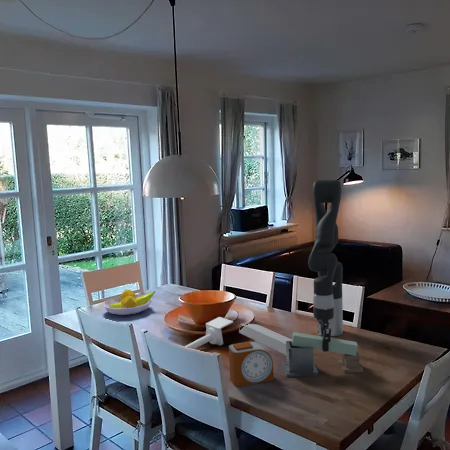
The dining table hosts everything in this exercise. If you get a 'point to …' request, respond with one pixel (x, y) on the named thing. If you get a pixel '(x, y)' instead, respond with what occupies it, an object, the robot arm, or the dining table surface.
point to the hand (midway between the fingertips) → (324, 348)
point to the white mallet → (212, 333)
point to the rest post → (350, 363)
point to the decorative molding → (265, 337)
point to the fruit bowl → (128, 303)
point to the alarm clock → (249, 364)
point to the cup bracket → (299, 361)
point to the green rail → (316, 343)
